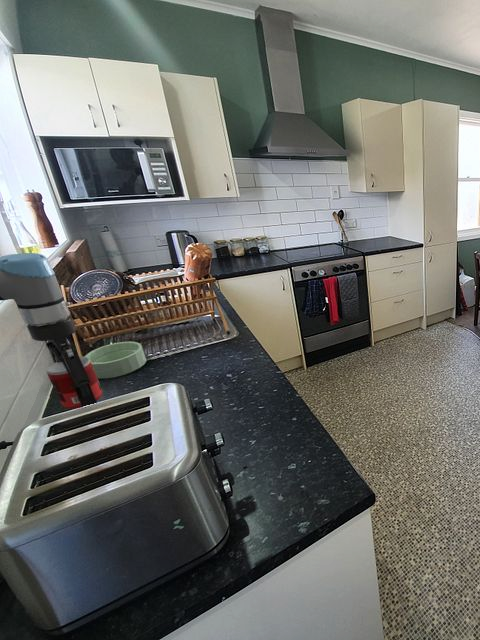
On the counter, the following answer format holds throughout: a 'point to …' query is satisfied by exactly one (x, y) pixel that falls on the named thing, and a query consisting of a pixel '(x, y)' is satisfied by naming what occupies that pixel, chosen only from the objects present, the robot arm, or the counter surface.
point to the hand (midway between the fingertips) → (83, 399)
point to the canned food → (64, 383)
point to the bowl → (117, 359)
